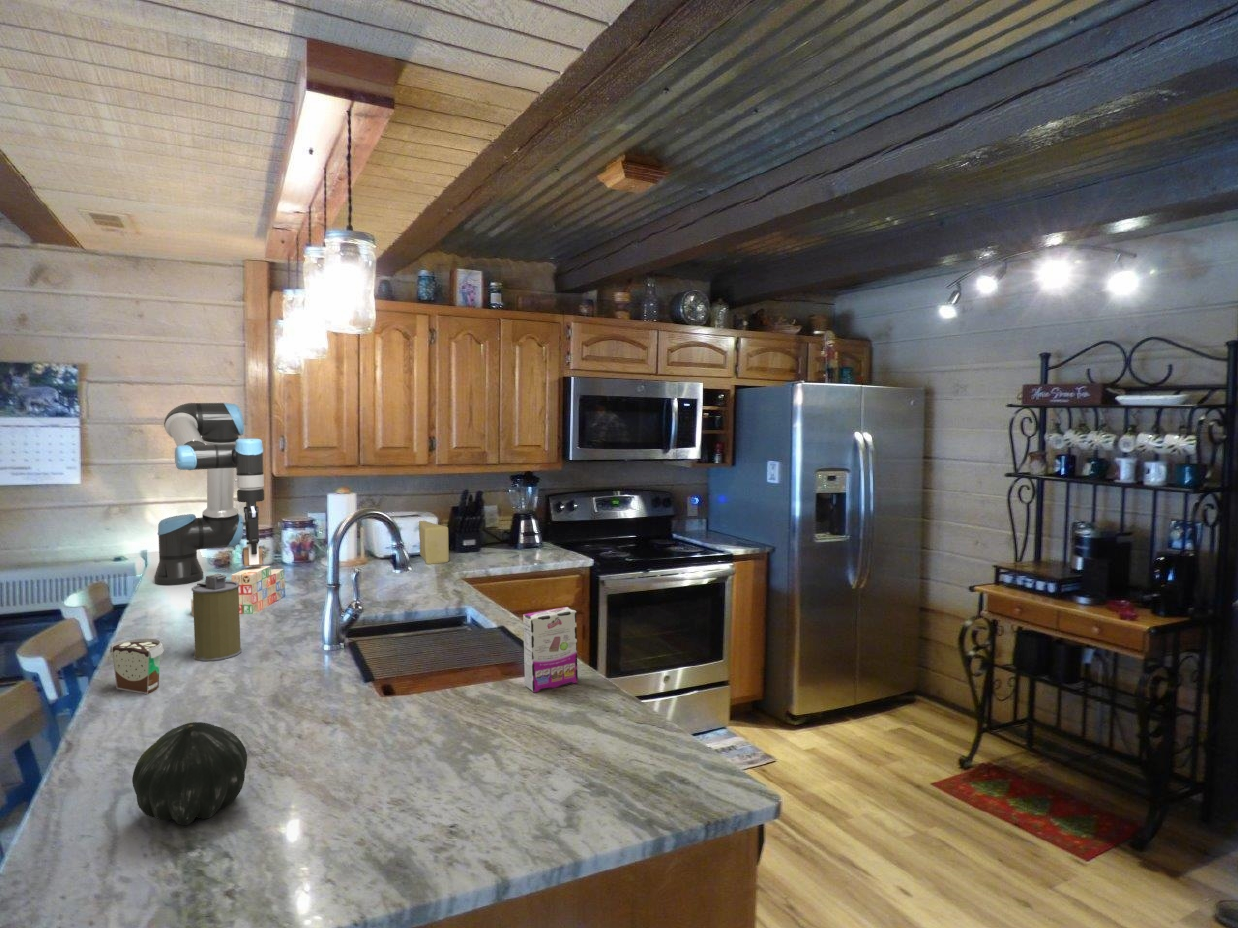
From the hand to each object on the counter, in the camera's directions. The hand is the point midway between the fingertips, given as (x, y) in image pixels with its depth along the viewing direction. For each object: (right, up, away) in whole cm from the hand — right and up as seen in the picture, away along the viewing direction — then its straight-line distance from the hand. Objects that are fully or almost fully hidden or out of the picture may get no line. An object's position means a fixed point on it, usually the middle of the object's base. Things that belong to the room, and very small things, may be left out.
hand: (253, 562), depth 227 cm
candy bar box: (+99, -18, -65) cm, 120 cm away
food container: (+10, -18, -66) cm, 69 cm away
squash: (+50, -22, -116) cm, 128 cm away
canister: (+14, -17, -45) cm, 50 cm away
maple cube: (-10, -15, -9) cm, 20 cm away
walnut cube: (0, 0, 0) cm, 0 cm away
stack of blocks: (+1, -14, +3) cm, 14 cm away
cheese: (+35, -9, +76) cm, 84 cm away
